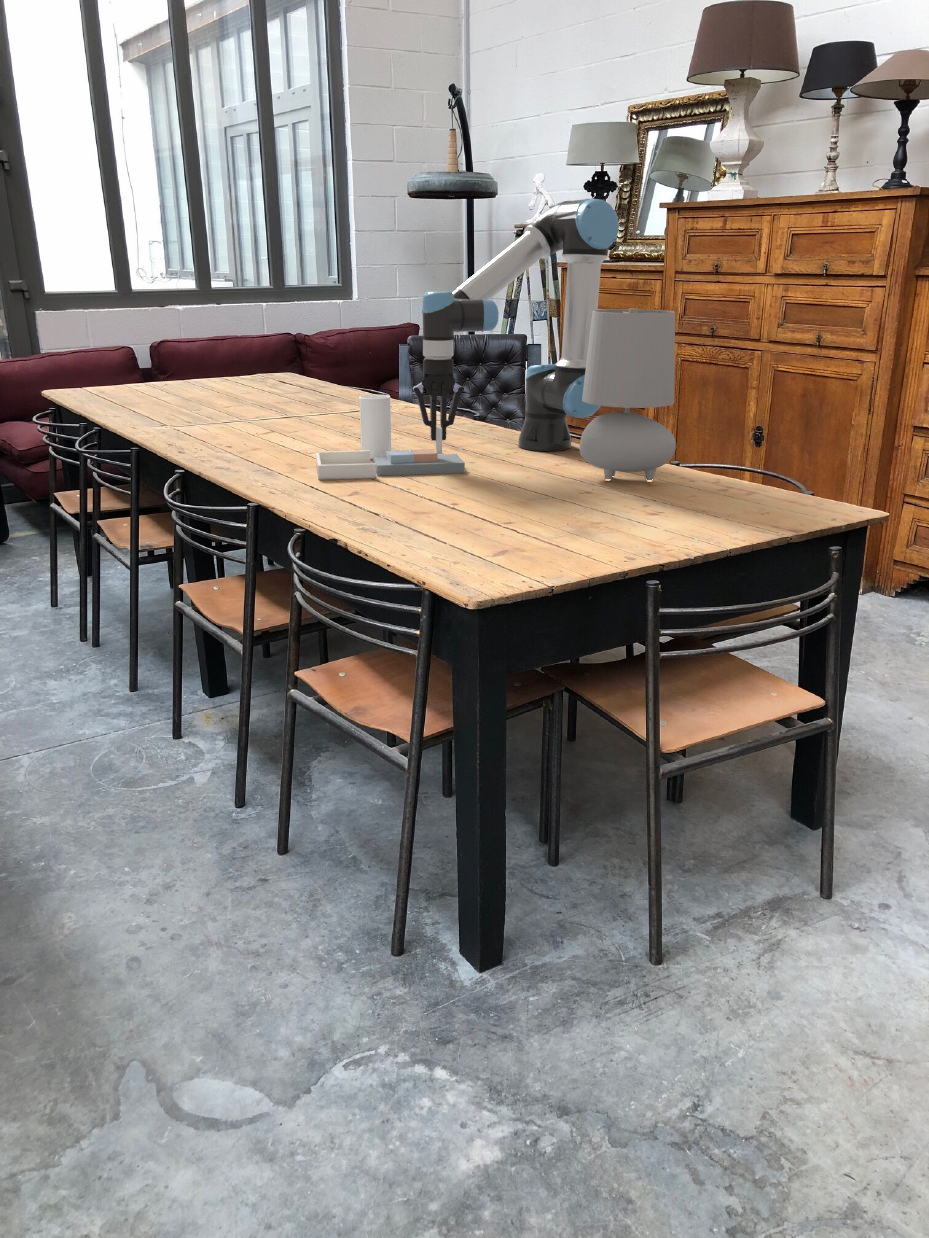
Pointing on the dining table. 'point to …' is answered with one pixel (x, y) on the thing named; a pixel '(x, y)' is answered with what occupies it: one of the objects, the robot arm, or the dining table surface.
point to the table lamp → (629, 389)
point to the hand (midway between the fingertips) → (438, 453)
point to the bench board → (420, 466)
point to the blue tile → (399, 456)
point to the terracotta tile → (425, 455)
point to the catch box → (345, 465)
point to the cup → (375, 424)
